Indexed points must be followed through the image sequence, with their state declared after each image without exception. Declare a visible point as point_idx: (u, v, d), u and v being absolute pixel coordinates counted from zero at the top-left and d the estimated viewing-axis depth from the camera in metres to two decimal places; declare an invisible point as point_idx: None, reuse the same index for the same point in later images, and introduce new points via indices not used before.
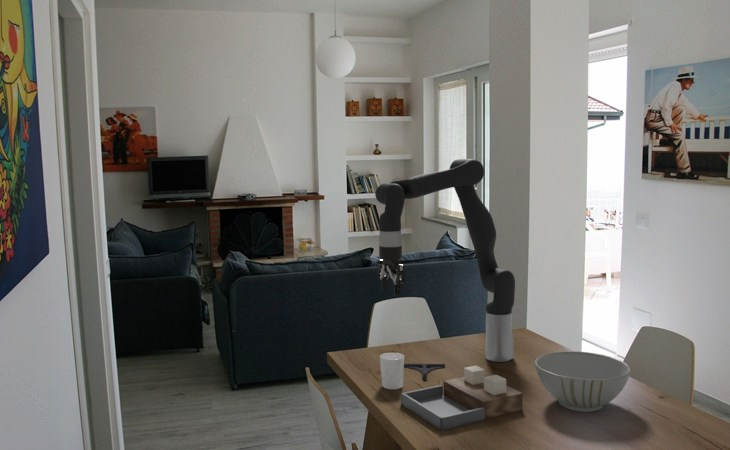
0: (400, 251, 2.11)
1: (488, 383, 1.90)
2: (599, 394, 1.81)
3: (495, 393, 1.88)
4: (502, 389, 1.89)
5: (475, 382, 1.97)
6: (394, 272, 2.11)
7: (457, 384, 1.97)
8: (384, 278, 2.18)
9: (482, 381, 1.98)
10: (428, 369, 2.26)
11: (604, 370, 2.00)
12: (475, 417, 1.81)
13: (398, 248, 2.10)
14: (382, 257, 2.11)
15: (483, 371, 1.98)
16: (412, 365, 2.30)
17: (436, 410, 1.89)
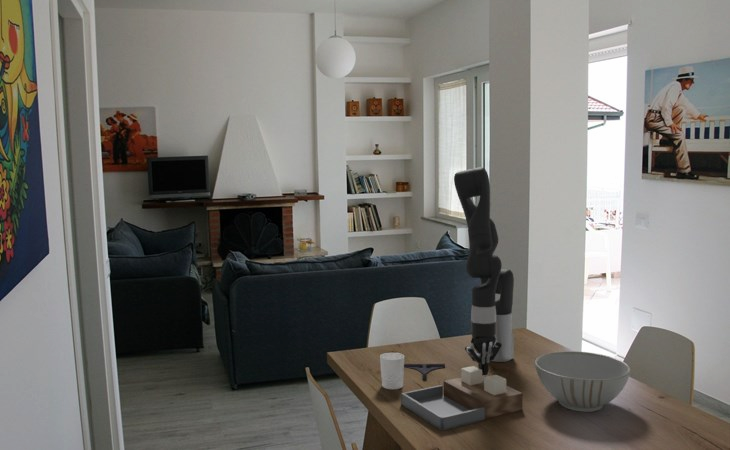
0: None
1: (488, 383, 1.90)
2: (599, 394, 1.81)
3: (495, 393, 1.88)
4: (502, 389, 1.89)
5: (472, 383, 1.97)
6: None
7: (457, 384, 1.97)
8: None
9: (479, 382, 1.98)
10: (428, 369, 2.26)
11: (604, 370, 2.00)
12: (475, 417, 1.81)
13: None
14: (493, 334, 1.97)
15: (480, 372, 1.98)
16: (412, 365, 2.30)
17: (436, 410, 1.89)
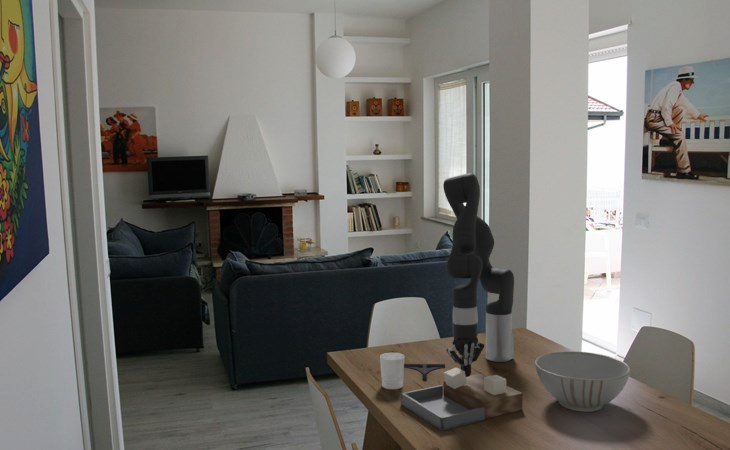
0: None
1: (488, 383, 1.90)
2: (599, 394, 1.81)
3: (495, 393, 1.88)
4: (502, 389, 1.89)
5: (457, 386, 1.94)
6: None
7: None
8: None
9: (464, 383, 1.95)
10: (428, 369, 2.26)
11: (604, 370, 2.00)
12: (475, 417, 1.81)
13: None
14: (475, 335, 1.94)
15: (463, 373, 1.95)
16: (412, 365, 2.30)
17: (436, 410, 1.89)
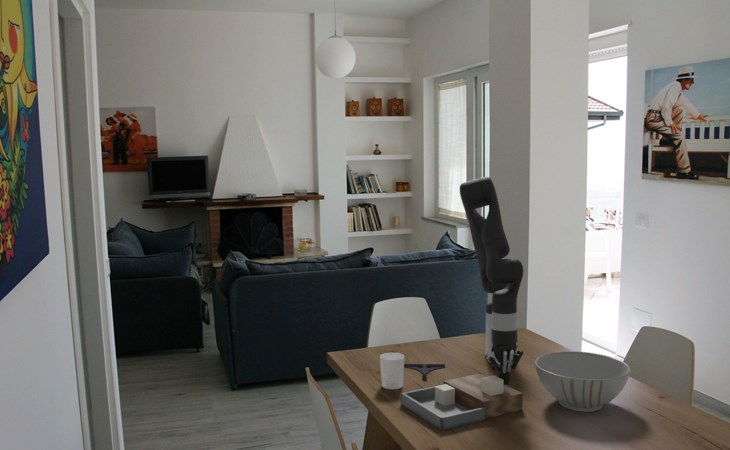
0: None
1: (485, 384, 1.89)
2: (599, 394, 1.81)
3: (492, 394, 1.88)
4: (500, 390, 1.89)
5: (453, 400, 1.94)
6: None
7: (457, 384, 1.97)
8: None
9: (453, 391, 1.93)
10: (428, 369, 2.26)
11: (604, 370, 2.00)
12: (475, 417, 1.81)
13: None
14: (515, 342, 1.88)
15: (445, 392, 1.92)
16: (412, 365, 2.30)
17: (436, 410, 1.89)
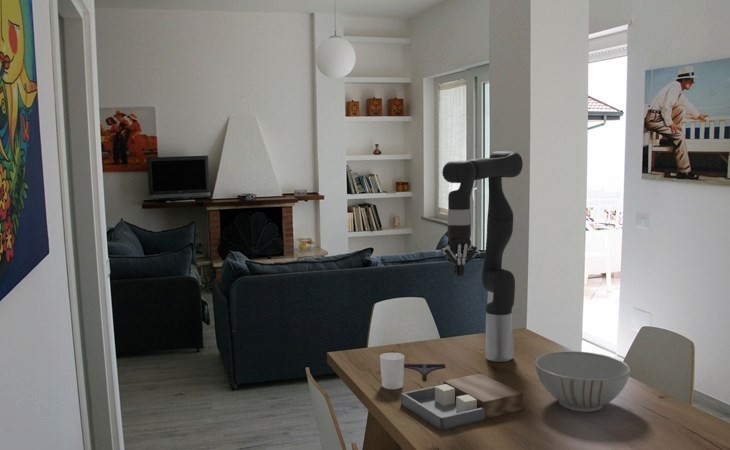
0: None
1: None
2: (599, 394, 1.81)
3: None
4: (473, 404, 1.84)
5: (453, 400, 1.94)
6: None
7: (457, 384, 1.97)
8: None
9: (453, 391, 1.93)
10: (428, 369, 2.26)
11: (604, 370, 2.00)
12: (475, 417, 1.81)
13: None
14: (468, 235, 2.08)
15: (445, 392, 1.92)
16: (412, 365, 2.30)
17: (436, 410, 1.89)
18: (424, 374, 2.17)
